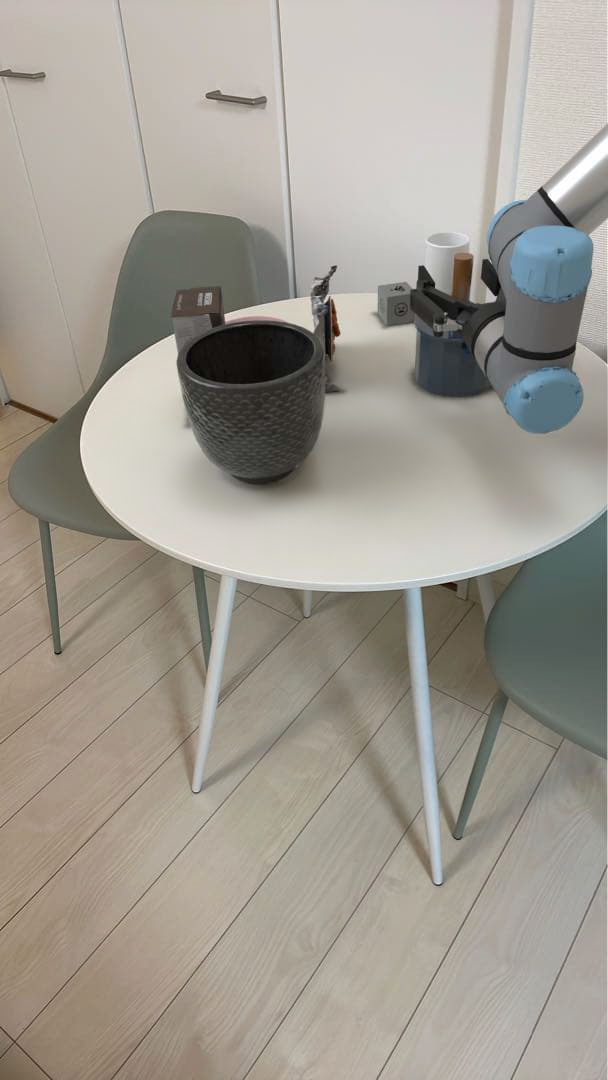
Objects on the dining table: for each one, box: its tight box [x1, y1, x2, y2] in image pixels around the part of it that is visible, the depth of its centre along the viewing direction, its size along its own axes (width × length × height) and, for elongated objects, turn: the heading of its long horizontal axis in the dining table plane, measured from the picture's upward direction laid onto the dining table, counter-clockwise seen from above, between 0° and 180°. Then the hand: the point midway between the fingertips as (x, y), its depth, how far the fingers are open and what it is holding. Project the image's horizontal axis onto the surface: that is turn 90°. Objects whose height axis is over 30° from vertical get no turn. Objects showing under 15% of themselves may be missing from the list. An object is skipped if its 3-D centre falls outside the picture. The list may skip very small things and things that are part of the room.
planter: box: [176, 320, 326, 485], centre depth 92 cm, size 17×17×16 cm
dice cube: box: [377, 281, 416, 327], centre depth 127 cm, size 5×5×5 cm
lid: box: [413, 252, 477, 343], centre depth 103 cm, size 12×12×10 cm
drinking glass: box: [423, 231, 471, 296], centre depth 118 cm, size 7×7×15 cm
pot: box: [414, 330, 492, 397], centre depth 109 cm, size 11×17×8 cm
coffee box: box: [170, 285, 226, 355], centre depth 104 cm, size 9×6×16 cm
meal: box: [310, 265, 342, 393], centre depth 112 cm, size 15×4×13 cm, turn 0°
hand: (452, 271), depth 106 cm, fingers open, 8 cm apart
